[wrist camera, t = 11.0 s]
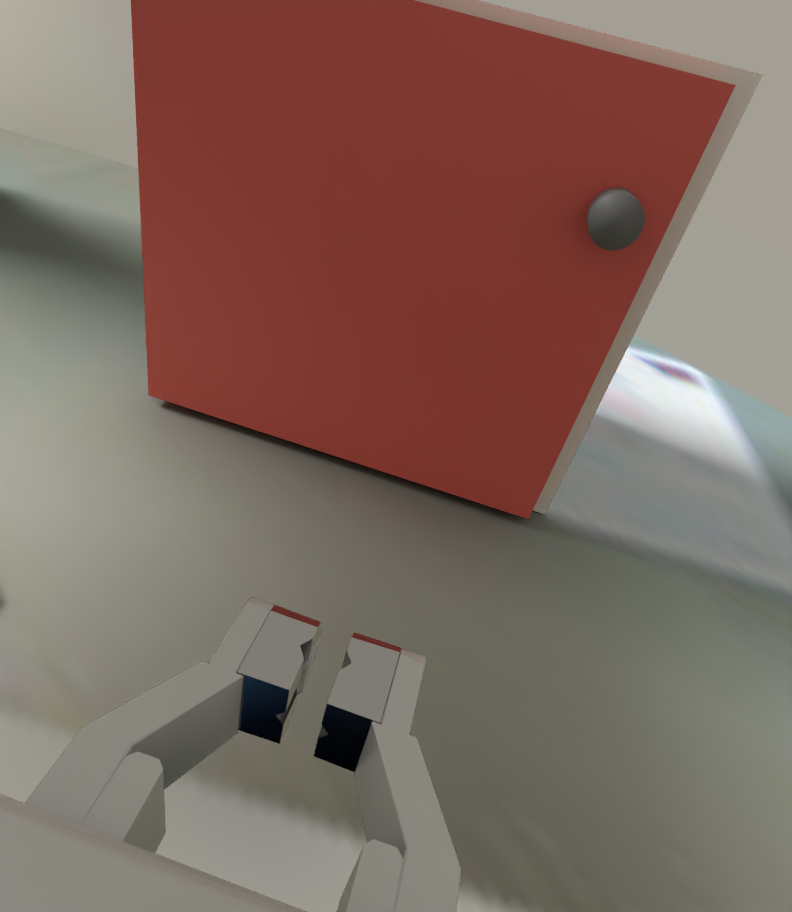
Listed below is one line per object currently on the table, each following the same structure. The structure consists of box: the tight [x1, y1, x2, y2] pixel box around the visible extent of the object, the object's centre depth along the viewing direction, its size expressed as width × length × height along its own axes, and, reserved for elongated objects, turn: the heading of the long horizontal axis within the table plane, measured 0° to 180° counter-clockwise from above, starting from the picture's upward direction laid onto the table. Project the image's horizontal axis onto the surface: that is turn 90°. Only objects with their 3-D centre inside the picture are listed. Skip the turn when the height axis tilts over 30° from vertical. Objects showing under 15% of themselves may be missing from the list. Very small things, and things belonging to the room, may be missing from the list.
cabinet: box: [415, 0, 763, 514], centre depth 31 cm, size 22×14×20 cm, turn 76°
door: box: [131, 0, 736, 519], centre depth 24 cm, size 21×3×19 cm, turn 76°
